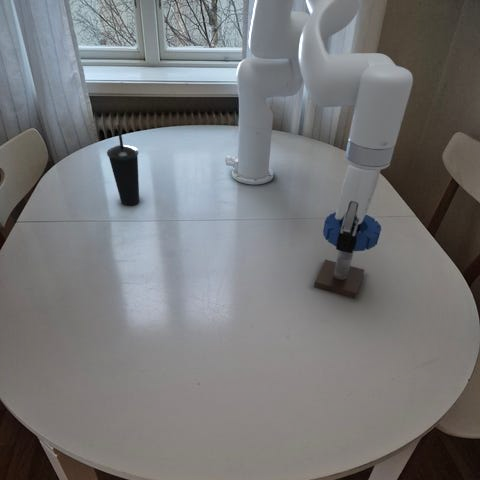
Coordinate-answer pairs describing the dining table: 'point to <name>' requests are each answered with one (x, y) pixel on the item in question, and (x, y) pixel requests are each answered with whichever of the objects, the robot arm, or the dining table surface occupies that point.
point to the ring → (364, 238)
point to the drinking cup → (125, 171)
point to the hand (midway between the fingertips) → (346, 245)
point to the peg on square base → (340, 276)
